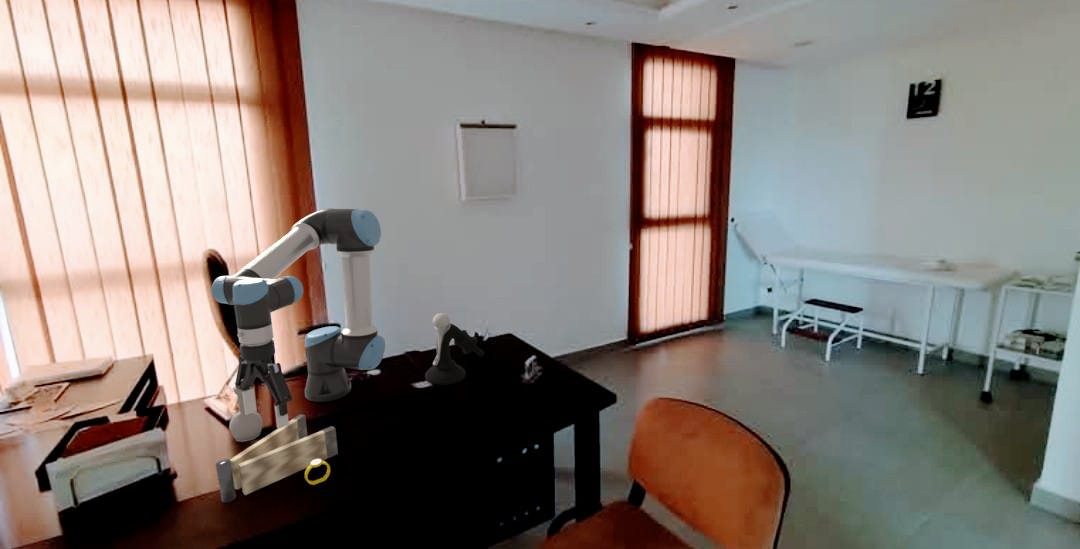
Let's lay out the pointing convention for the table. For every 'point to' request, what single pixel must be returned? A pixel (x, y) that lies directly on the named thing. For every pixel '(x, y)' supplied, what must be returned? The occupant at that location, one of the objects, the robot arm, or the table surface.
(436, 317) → the sculpture
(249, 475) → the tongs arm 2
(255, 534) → the table surface
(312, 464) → the gold ring
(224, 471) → the post
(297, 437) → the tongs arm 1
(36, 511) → the table surface
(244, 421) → the potion bottle
